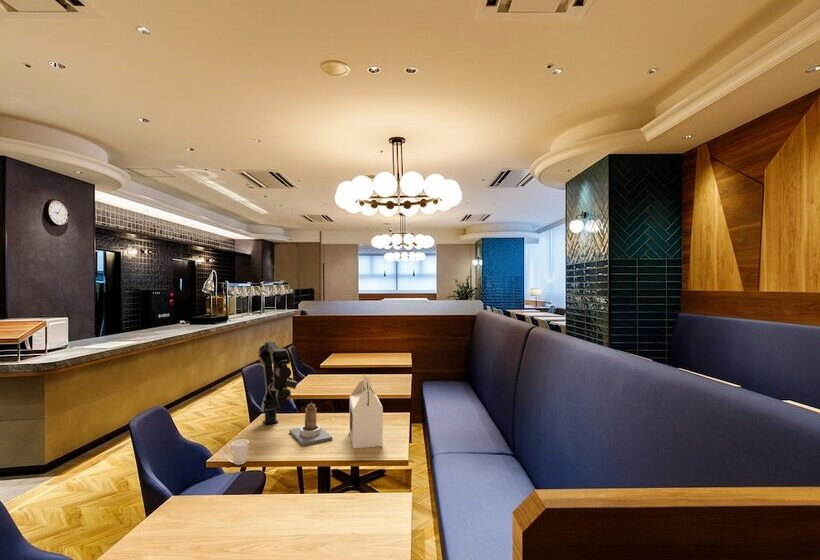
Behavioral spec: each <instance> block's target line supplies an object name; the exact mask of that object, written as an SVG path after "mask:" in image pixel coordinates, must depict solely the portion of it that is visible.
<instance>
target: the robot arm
mask: <svg viewBox="0 0 820 560" xmlns="http://www.w3.org/2000/svg"><path fill="white" fill-rule="evenodd" d="M257 357H258V358H259V362H260V363H261V365H262V366H263V374H264V385H265V393H264V396H263V400H262V402H261V405H260V411H261V412H262V414H263V413H264V420H262V423H264V425H266V426H267V425H268V426H269V425H273V424H278V423H279V421H278V420H277V411H281V410H283V409H284V407H285V403H286V400H287V398H289V397H291V395H292V392H291V390H290V389H289V388H292V389H293V390H296V388H297V385H298V382H297V381H296V380H294V379H293V377H290V376H291V375H292V370H291V368H289V367H288V365H290V364H291V357H290V354H289V352H288V350H287V349H286V348H281V347H279V346H278V344H276V342H275V341H265V342H264V344H262V345H261V346H260V347H259V348H258V351H257Z"/></svg>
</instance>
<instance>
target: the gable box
mask: <svg viewBox="0 0 820 560" xmlns="http://www.w3.org/2000/svg"><path fill="white" fill-rule="evenodd" d="M362 378H363V379H362V380H361V381H359V382H358V384H357V385H356V387H355V388H354V390H353V391H352V392H351V394H350V395H349V435H350V439H351V445H352V448H353V449H363V448H365V449H366V448H376V447H375V446H378V447H383V446H384V444H383V442H384V439H383V437H384V436H383V435H384V431H383V430H384V426H383V425H384V424H383V422H384V418H383V417H384V407H383V405H382V403H381V401H380V399H379V397H378V395H377V394H376V392H375V391H374V389H373V387H372V384H371V381H370V379H369V378H368V377H366V376H365V374H364V375H363V377H362ZM382 445H383V446H382Z"/></svg>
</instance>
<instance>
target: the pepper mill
mask: <svg viewBox="0 0 820 560" xmlns="http://www.w3.org/2000/svg"><path fill="white" fill-rule="evenodd" d="M317 410H318V409H317V407H316V404H314V403H313V402H310V403H309V404H307V405H306V408H305V412H304V413H305V414H304V426H305V430H306V431H311V430H316V425H317V413H318V412H317Z"/></svg>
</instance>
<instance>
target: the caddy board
mask: <svg viewBox="0 0 820 560" xmlns="http://www.w3.org/2000/svg"><path fill="white" fill-rule="evenodd" d="M288 431H289V432H290V433H291V434H290V433H289V434H290V435H291V436H292V437H293V438H294V439H295V440H296V441H297V442H298V443H299V444H300V446H301V447H308V446H310V445H316V444H320V443H326V442H331V441H333V436H332V435H331V434H330V433H328V432H327V431H326V430H324V428H322V427H321V425H318V424H316V430H311V431H306V430H305V425H303V426H300V427H297V428H292V429H289V430H288Z"/></svg>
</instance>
